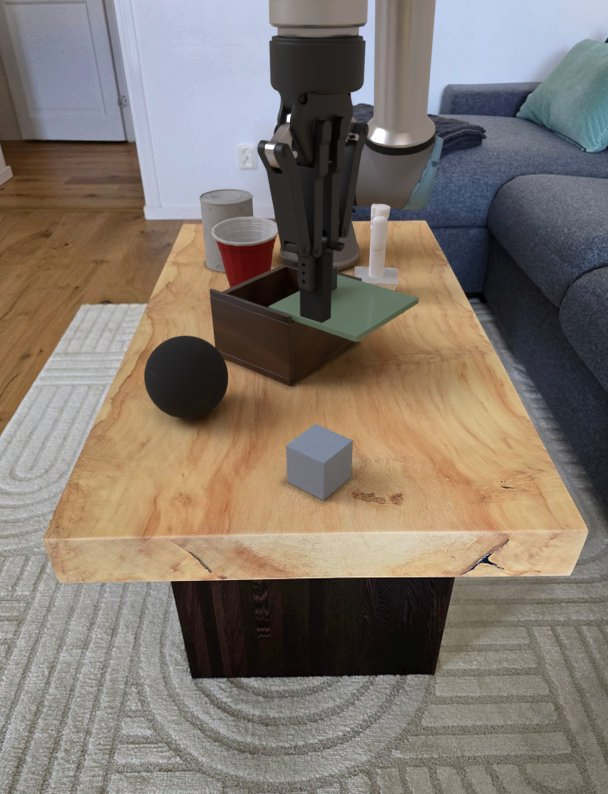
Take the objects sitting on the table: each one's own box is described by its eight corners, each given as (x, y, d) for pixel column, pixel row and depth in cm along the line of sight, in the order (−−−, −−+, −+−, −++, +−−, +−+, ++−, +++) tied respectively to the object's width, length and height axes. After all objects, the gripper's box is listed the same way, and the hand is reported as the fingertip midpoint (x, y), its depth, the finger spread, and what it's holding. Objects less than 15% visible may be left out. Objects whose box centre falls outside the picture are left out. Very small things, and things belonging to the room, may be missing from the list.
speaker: (240, 395, 83) (234, 324, 77) (218, 439, 75) (210, 364, 69) (167, 388, 84) (156, 318, 78) (138, 430, 76) (123, 356, 70)
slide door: (334, 278, 90) (335, 252, 88) (418, 303, 83) (421, 275, 81) (268, 312, 82) (267, 283, 79) (356, 342, 75) (357, 312, 72)
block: (315, 459, 72) (315, 423, 69) (351, 477, 69) (353, 440, 66) (286, 482, 68) (285, 444, 65) (323, 501, 66) (324, 463, 63)
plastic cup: (210, 310, 104) (203, 236, 97) (225, 284, 113) (219, 215, 105) (275, 313, 103) (273, 239, 96) (286, 287, 111) (284, 217, 104)
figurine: (395, 285, 112) (402, 197, 103) (396, 307, 104) (404, 214, 95) (354, 284, 112) (358, 196, 103) (352, 306, 105) (356, 213, 96)
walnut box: (287, 317, 101) (285, 256, 95) (358, 342, 94) (362, 278, 88) (215, 355, 91) (208, 289, 85) (290, 386, 84) (288, 317, 78)
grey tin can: (233, 250, 126) (228, 186, 119) (266, 262, 121) (263, 195, 114) (195, 263, 121) (188, 196, 113) (229, 276, 116) (223, 207, 108)
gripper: (326, 27, 55) (323, 288, 69) (223, 34, 46) (243, 330, 60) (402, 29, 51) (382, 305, 65) (305, 37, 43) (306, 351, 57)
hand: (315, 316), depth 63 cm, fingers closed
